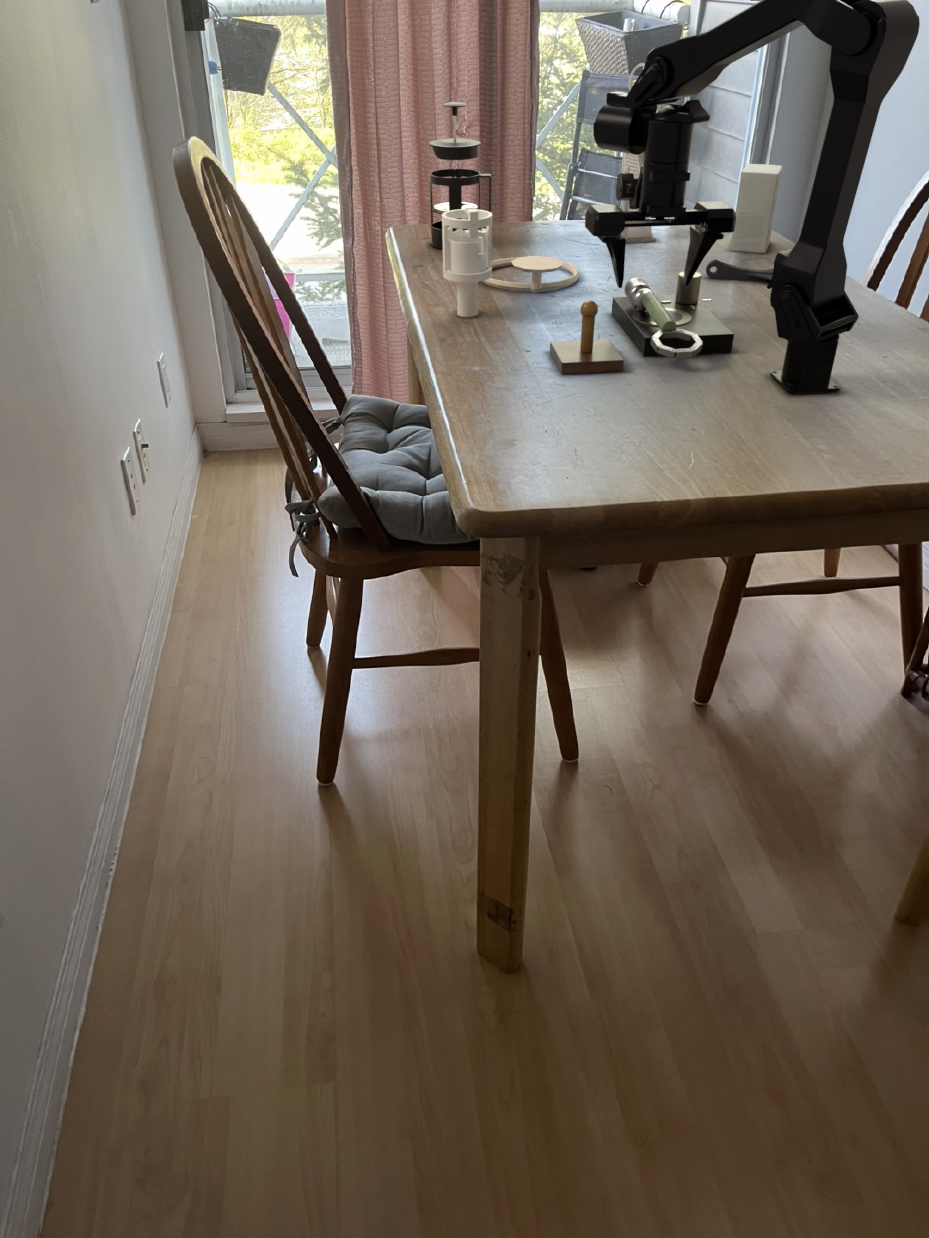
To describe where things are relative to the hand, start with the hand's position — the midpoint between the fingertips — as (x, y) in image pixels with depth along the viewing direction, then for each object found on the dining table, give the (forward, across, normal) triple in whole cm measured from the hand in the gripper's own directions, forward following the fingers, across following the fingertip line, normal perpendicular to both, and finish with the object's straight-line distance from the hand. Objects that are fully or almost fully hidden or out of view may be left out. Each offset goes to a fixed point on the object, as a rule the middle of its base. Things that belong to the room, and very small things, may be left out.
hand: (652, 286), depth 128 cm
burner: (+4, -2, +1) cm, 4 cm away
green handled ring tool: (+5, 0, +4) cm, 6 cm away
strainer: (+7, +24, -12) cm, 28 cm away
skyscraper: (+7, -12, -54) cm, 56 cm away
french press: (+7, +21, -53) cm, 58 cm away
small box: (+7, -31, -44) cm, 55 cm away
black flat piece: (+7, -24, -24) cm, 35 cm away
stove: (+7, -3, 0) cm, 7 cm away
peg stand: (+7, +11, +10) cm, 16 cm away
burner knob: (+4, -7, -6) cm, 10 cm away
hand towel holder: (+7, +12, -28) cm, 32 cm away
